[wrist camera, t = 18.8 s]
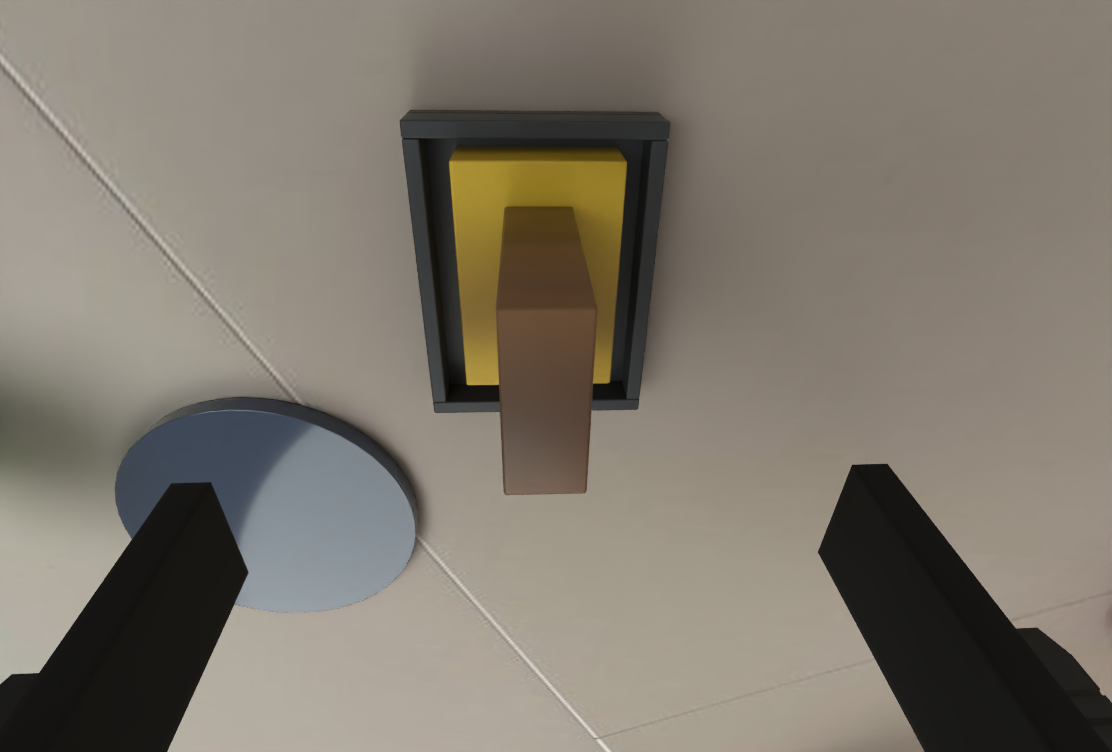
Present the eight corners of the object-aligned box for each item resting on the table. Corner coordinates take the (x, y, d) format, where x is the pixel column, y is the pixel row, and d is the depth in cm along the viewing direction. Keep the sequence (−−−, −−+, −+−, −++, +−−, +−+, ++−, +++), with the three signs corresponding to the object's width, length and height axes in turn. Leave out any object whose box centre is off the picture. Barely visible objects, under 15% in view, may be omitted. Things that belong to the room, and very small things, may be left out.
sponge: (455, 144, 22) (409, 246, 13) (617, 145, 22) (682, 245, 13) (470, 355, 26) (445, 534, 18) (603, 353, 27) (643, 528, 18)
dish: (409, 109, 21) (399, 119, 20) (658, 112, 22) (670, 122, 20) (439, 387, 28) (434, 413, 26) (631, 384, 28) (638, 410, 27)
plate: (75, 399, 27) (61, 412, 27) (400, 394, 28) (396, 406, 27) (181, 602, 36) (173, 617, 35) (431, 594, 36) (429, 609, 35)
